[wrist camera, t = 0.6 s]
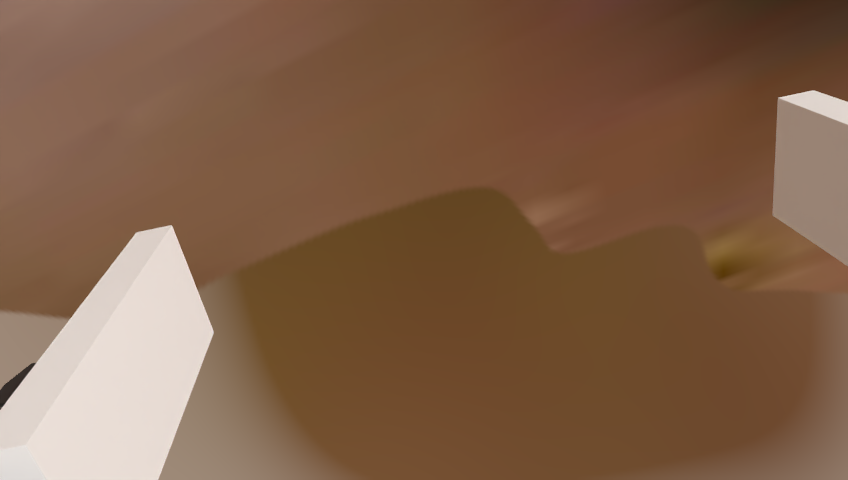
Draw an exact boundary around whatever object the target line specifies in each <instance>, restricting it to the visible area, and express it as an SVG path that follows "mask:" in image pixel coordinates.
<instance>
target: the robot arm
mask: <svg viewBox="0 0 848 480" xmlns="http://www.w3.org/2000/svg"><path fill="white" fill-rule="evenodd" d="M773 216H775V217H776V218H777V219H779V220H780V221H782V222H783V223H785V224H786V225H788V226H789V227H791V228H792V229H794V230H795V231H797V232H798V233H800V234H801V235H803V236H804V237H806V238H807V239H809V240H810V241H811V242H813V243H814V244H816V245H817V246H819V247H820V248H822V249H823V250H825V251H826V252H828V253H829V254H831V255H832V256H834V257H835V258H837V259H838V260H840V261H841V262H843V263H844V264H846V265H847V266H848V102H846V101H843V100H840V99H837V98H834V97H832V96H829V95H826V94H823V93H820V92H817V91H814V90H813V91H808V92H804V93H799V94H794V95H789V96H785V97H780V98H778V110H777V132H776V154H775V175H774V197H773ZM213 333H214V332H213V329H212V326H211V324H210V321H209V319H208V316H207V314H206V311H205V308H204V306H203V303H202V301H201V298H200V296H199V293H198V291H197V288H196V286H195V283H194V280H193V278H192V275H191V273H190V270H189V268H188V265H187V263H186V260H185V258H184V255H183V253H182V250H181V247H180V245H179V242H178V240H177V237H176V235H175V232H174V230H173V227H172V225H170V226H165V227H161V228H156V229H151V230H146V231H142V232H137V233H136V234H135V235H134V236H133V238H132V239H131V240H130V242H129V243H128V244H127V246H126V247H125V248H124V249H123V251H122V252H121V253H120V255H119V256H118V257H117V259H116V260H115V261H114V263H113V264H112V265H111V266H110V268H109V269H108V270H107V272H106V273H105V274H104V276H103V277H102V278H101V279H100V281H99V282H98V283H97V285H96V286H95V287H94V289H93V290H92V291H91V292H90V294H89V295H88V296H87V298H86V299H85V300H84V302H83V303H82V304H81V306H80V307H79V308H78V309H77V311H76V312H75V313H74V315H73V316H72V317H71V319H70V320H69V321H68V322H67V324H66V325H65V326H64V328H63V329H62V330H61V332H60V333H59V334H58V335H57V337H56V338H55V340H54V341H53V342H52V343H51V345H50V346H49V347H48V349H47V350H46V351H45V352H44V354H43V355H42V356H41V358H40V359H39V360H38V362H37V363H32V364H30V365H29V366H28V367H26V368H25V369H24V370H23V371H22V372H20V373H19V374H18V375H16V376H15V377H14V378H13V379H11V380H10V381H9V382H8V383H6V384H5V385H4V386H3V387H2V389H1V390H0V480H158V479H159V476H160V474H161V471H162V468H163V466H164V463H165V460H166V458H167V455H168V453H169V450H170V447H171V445H172V442H173V439H174V436H175V434H176V431H177V429H178V426H179V423H180V421H181V418H182V415H183V413H184V410H185V408H186V405H187V402H188V399H189V397H190V394H191V391H192V389H193V386H194V384H195V381H196V378H197V376H198V373H199V370H200V368H201V365H202V362H203V359H204V357H205V354H206V352H207V349H208V347H209V344H210V341H211V339H212V336H213Z"/></svg>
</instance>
